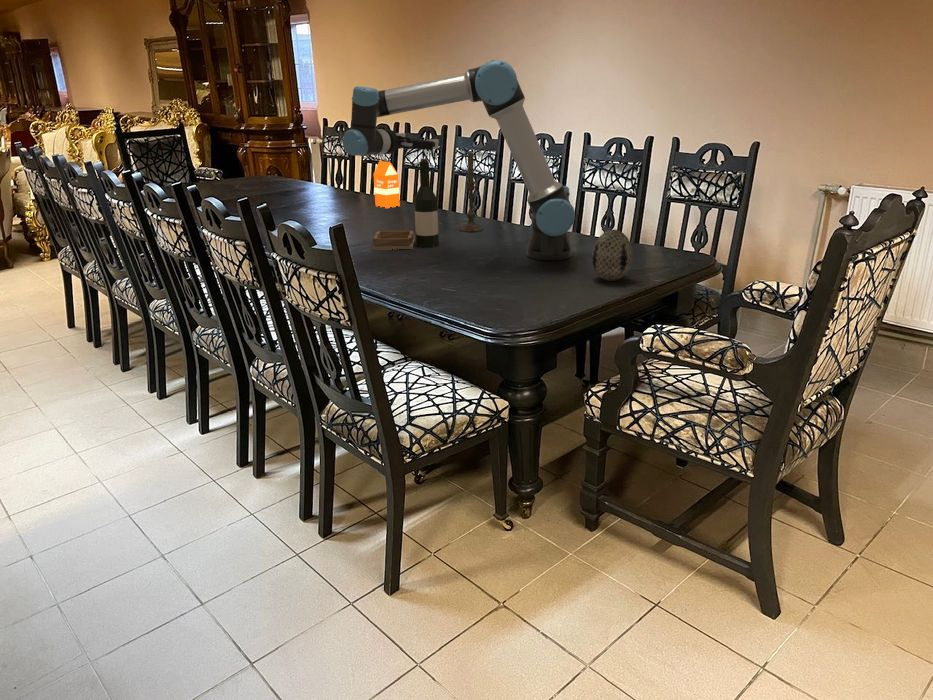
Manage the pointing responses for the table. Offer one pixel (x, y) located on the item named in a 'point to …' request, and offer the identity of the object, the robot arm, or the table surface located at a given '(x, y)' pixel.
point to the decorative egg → (612, 255)
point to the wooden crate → (393, 240)
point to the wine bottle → (426, 210)
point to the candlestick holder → (471, 199)
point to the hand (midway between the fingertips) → (420, 140)
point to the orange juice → (386, 185)
